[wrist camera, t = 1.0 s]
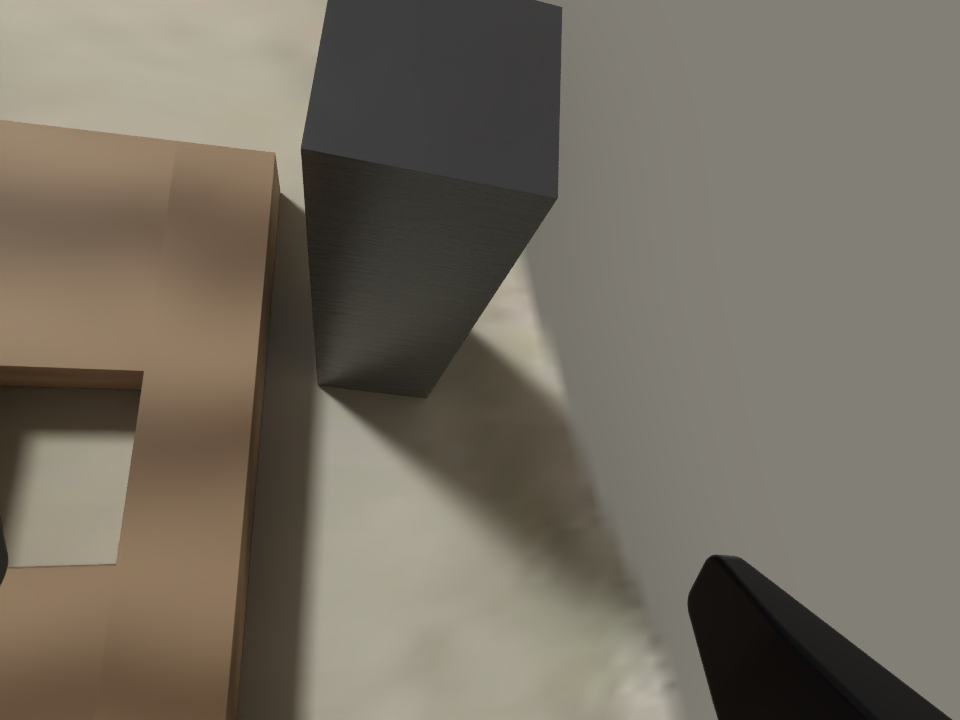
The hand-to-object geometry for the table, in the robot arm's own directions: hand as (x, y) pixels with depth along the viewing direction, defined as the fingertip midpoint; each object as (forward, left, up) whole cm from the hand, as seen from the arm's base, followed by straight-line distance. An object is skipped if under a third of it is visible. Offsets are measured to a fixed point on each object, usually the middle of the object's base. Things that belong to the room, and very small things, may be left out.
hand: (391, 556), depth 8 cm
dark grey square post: (+8, -1, -14) cm, 16 cm away
